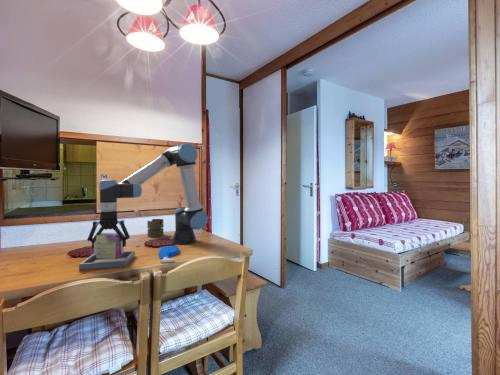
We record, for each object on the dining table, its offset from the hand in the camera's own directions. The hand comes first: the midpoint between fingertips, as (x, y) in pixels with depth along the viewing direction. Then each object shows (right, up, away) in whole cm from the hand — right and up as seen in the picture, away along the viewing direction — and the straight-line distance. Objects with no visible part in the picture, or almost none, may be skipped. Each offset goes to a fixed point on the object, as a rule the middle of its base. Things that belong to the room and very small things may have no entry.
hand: (109, 253), depth 127 cm
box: (0, -2, 0) cm, 2 cm away
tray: (0, -5, 0) cm, 5 cm away
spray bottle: (+26, -5, +12) cm, 29 cm away
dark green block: (0, -3, +62) cm, 63 cm away
